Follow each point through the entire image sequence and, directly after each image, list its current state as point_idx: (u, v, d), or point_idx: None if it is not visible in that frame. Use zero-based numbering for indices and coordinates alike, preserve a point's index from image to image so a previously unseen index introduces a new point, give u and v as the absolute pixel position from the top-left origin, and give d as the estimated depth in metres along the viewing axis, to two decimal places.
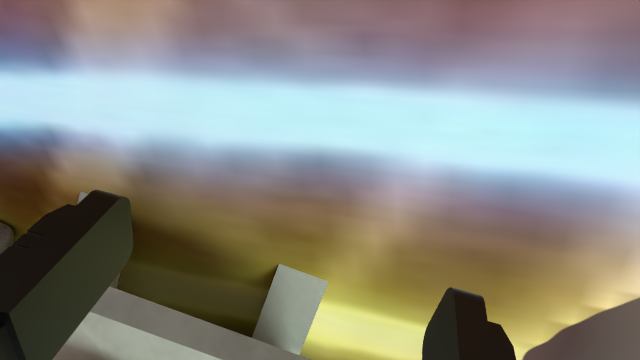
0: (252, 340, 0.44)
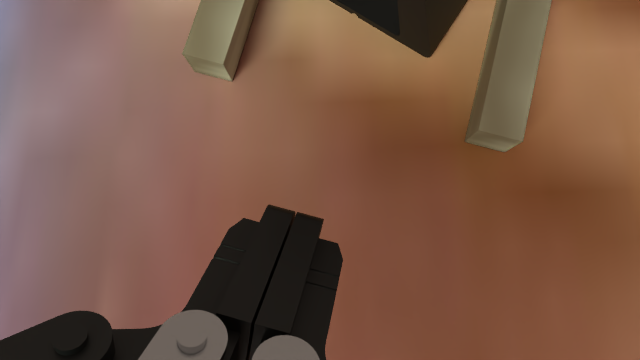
0: None
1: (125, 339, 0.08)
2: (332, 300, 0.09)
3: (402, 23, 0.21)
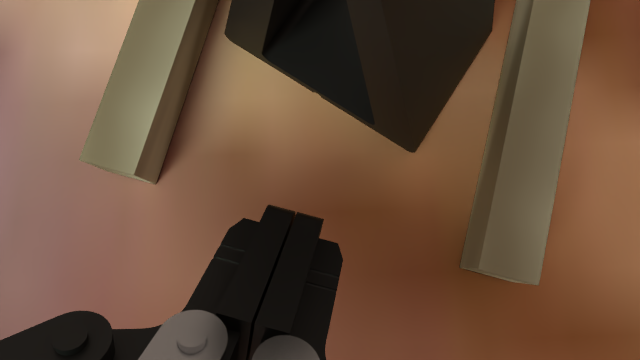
0: None
1: (125, 339, 0.08)
2: (332, 300, 0.09)
3: (376, 115, 0.16)
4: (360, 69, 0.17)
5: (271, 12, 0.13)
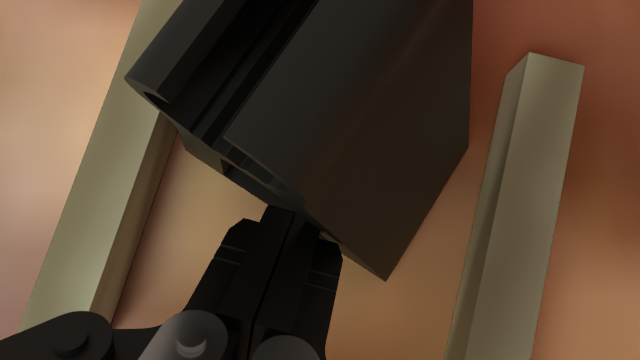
0: None
1: (125, 339, 0.08)
2: (332, 300, 0.09)
3: (343, 252, 0.15)
4: None
5: (223, 167, 0.12)
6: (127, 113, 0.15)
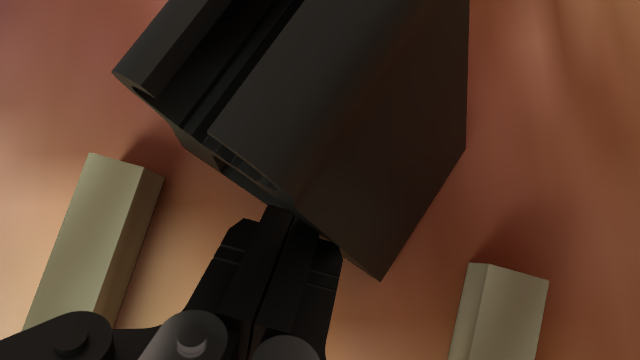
0: None
1: (126, 339, 0.08)
2: (332, 300, 0.09)
3: None
4: None
5: (218, 164, 0.12)
6: None
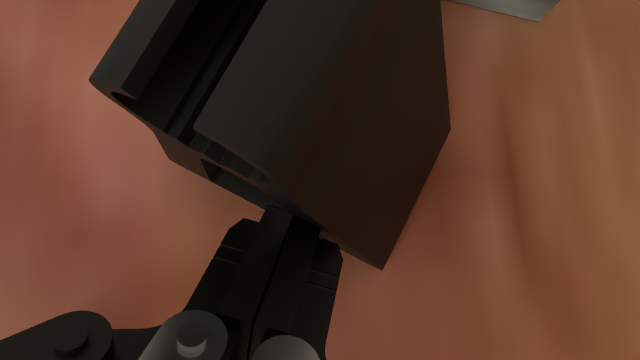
0: None
1: (125, 339, 0.08)
2: (332, 300, 0.09)
3: None
4: None
5: (206, 170, 0.12)
6: None
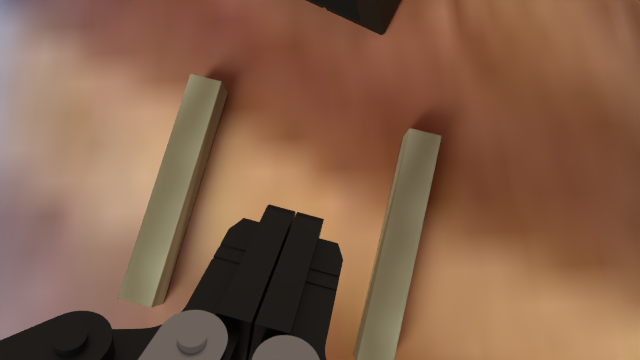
0: None
1: (125, 339, 0.08)
2: (332, 300, 0.09)
3: (360, 11, 0.28)
4: None
5: None
6: (176, 168, 0.26)
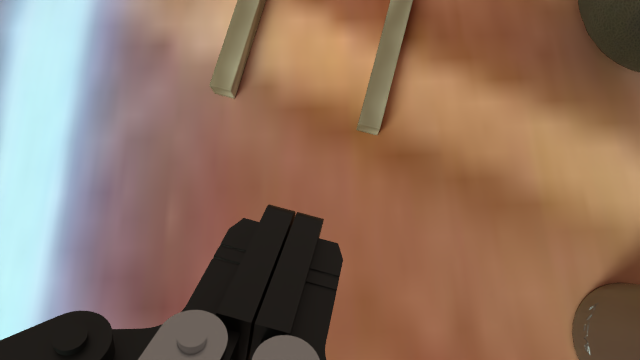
0: None
1: (125, 339, 0.08)
2: (332, 300, 0.09)
3: None
4: None
5: None
6: (244, 9, 0.41)
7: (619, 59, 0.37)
